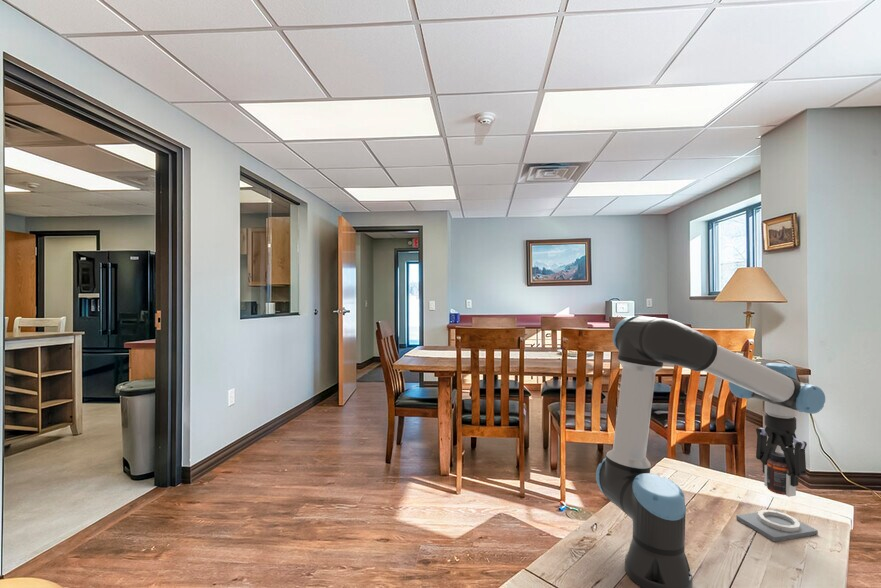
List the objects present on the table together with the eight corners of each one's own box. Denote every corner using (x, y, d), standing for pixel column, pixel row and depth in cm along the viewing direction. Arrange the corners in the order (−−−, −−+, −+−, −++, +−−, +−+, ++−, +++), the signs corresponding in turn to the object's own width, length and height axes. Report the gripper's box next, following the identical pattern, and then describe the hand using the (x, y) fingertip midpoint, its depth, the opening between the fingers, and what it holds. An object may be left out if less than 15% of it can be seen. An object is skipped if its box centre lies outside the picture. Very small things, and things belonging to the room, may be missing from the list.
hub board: (774, 541, 121) (774, 533, 121) (736, 519, 133) (736, 511, 133) (817, 534, 125) (817, 526, 125) (777, 513, 136) (777, 505, 136)
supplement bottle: (796, 497, 125) (797, 459, 125) (773, 495, 126) (774, 457, 126) (784, 487, 131) (784, 451, 131) (762, 485, 132) (763, 449, 132)
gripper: (824, 423, 120) (823, 504, 120) (760, 405, 138) (759, 475, 139) (803, 425, 118) (802, 507, 119) (741, 407, 137) (741, 478, 137)
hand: (779, 490), depth 129 cm, fingers closed on supplement bottle, 6 cm apart
